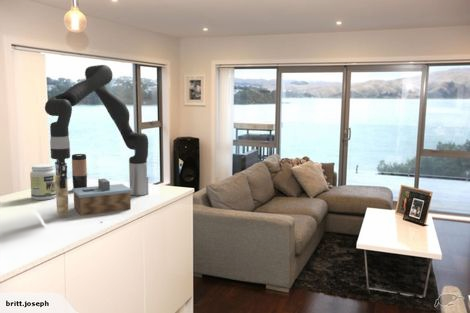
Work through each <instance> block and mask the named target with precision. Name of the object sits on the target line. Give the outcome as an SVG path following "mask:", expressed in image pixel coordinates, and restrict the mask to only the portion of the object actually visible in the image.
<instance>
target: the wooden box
mask: <svg viewBox="0 0 470 313" xmlns="http://www.w3.org/2000/svg"><path fill="white" fill-rule="evenodd" d="M131 204H132V203H131V195H130V192H129V193H120V194H111V195H102V196H92V197H83V198H79V197H78V196H77V195H76V194H75V193H74V192H73V209H74V210H75V211H76V212H77V213H78V214H79V215H80V216H88V215H98V214H105V213H112V212H118V211H121V212H122V211H127V210H131V207H132V206H131Z"/></svg>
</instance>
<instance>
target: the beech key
mask: <svg viewBox="0 0 470 313" xmlns="http://www.w3.org/2000/svg"><path fill="white" fill-rule="evenodd" d="M62 176H64V174H63V175H62ZM55 178H56V197H55V198H56V199H55V200H56V201H55V202H56V213H57V214H58V215H65V214H69V213H70V212H69V209H70V208H69V190H68V189H69V188H68V187H69V186H68V185H69V184H68V178H67V179H65V181H66V188H62V189H61V188H60V180H59V175H57V176H55Z"/></svg>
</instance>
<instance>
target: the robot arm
mask: <svg viewBox="0 0 470 313" xmlns="http://www.w3.org/2000/svg"><path fill="white" fill-rule="evenodd" d="M84 77H85V79H84V80H82V81H80V82H78V83H75V84H74V85H72V86H70V87H69V88H68V89H66V90H65V91H63V92H61V93H59V94H57V95H55V96H52V97H51V98H49V99H48V100H47V101H46V102H45V104H44V110H45V113H47V114H48V115H49V116H52V117H57V120H56V121H53V122H51V123H50V126H49V130H50V133H49V134H50V142H49V145H50V158H51V159H52V160H55V161H54V169H55V172H56V176H57V175H59V180H60V188H61V189H62V188H66V181H65V179H67V180H68V165H67V164H68V163H67V162H66V159H70V158H71V148H70V147H71V146H70V137H69V125H70V121H71V117H72V113H73V107H75V106H76V105H77V104H78V103H80V102H81V101H82V100H84V99H85V98H86V97H88V96H89V95H91V93H93V92H94V93H95V94H96V95H97V97H98V98H99V99H100V101H101V103H102V105H103V106H104V108H105V109H106V111H107V113H108V114H109V116H110V118H111V119H112V121H113V122H114V124H115V125H116V128H117V129H118V131H119V133H120V136H121V137H122V139H123V142H124V144H125V146H126V148H128V149H129V150H132V151H135V154H134V155H133V156H130V157H129V159H128V173H129V174H128V175H129V188H130V189H131V190H132V192H130V196H146V195H149V176H148V170H147V169H148V166H147V164H148V162H147V161H148V156H149V137H148V135H147V134H146V133H144V132H143V133H142V132H135V131H134V130H133V129H132V127H131V125H130V111H129V109H128V107H127V104H125V102H124V100H123V99H122V98H121V97H119V96H118V95H116V93H114V92H112V91H111V90H110V89H109V88H108V86H107V85H108V84H110V82H112V80H113V70H112V69H111V67H109V66H108V65H106V64H97V65H92V66H88V67H86V69H85V71H84ZM62 175H64V176H62Z"/></svg>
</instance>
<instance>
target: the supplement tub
mask: <svg viewBox="0 0 470 313" xmlns="http://www.w3.org/2000/svg"><path fill="white" fill-rule="evenodd" d="M55 176H56V169H55V164H51V163H42V164H40V163H39V164H33V165H31V171H30V174H29V178H30V180H29V181H30V196H31V199H32V200H35V201H46V200H51V199H53V200H54V199H55V198H56V178H55Z"/></svg>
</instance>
